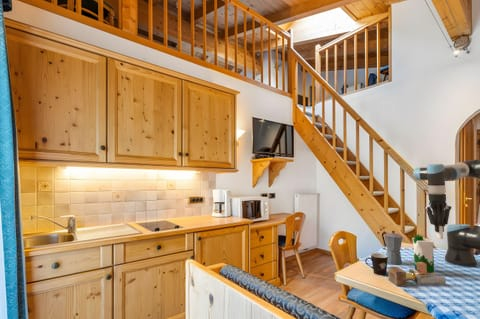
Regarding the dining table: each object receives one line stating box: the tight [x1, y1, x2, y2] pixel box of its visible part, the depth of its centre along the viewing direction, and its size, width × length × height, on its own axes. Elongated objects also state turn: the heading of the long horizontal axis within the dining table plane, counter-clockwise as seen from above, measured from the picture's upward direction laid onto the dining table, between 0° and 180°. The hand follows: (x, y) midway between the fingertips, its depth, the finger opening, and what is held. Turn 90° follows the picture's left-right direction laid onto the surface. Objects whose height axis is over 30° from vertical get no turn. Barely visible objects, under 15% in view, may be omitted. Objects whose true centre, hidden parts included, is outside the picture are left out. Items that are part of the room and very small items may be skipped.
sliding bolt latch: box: [408, 268, 447, 286], centre depth 141 cm, size 14×7×6 cm, turn 90°
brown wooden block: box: [387, 266, 408, 287], centre depth 141 cm, size 5×7×7 cm
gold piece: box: [406, 262, 427, 282], centre depth 141 cm, size 16×4×9 cm, turn 90°
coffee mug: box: [364, 252, 388, 276], centre depth 155 cm, size 12×9×10 cm
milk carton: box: [412, 234, 435, 273], centre depth 155 cm, size 9×9×20 cm
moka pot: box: [381, 230, 404, 266], centre depth 171 cm, size 10×15×20 cm, turn 24°
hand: (439, 238), depth 143 cm, fingers closed
